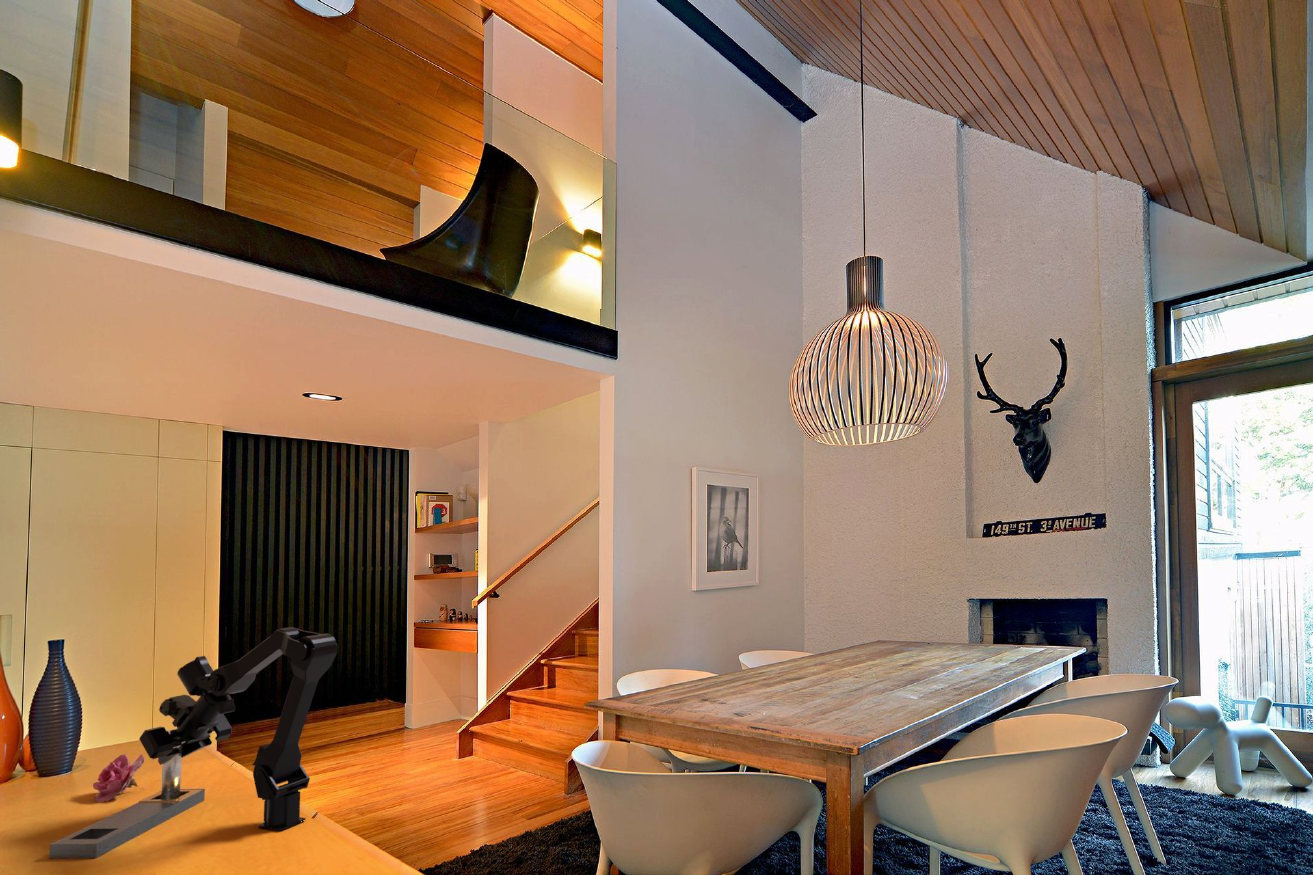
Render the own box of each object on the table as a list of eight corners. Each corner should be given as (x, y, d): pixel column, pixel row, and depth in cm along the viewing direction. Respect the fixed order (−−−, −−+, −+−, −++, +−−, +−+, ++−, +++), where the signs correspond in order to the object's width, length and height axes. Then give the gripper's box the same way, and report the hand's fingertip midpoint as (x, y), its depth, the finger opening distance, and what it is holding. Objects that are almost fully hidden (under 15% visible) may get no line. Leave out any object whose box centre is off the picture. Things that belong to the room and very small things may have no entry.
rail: (96, 857, 147) (97, 842, 148) (49, 858, 148) (50, 842, 148) (204, 800, 180) (204, 787, 180) (165, 800, 180) (166, 788, 181)
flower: (98, 819, 179) (73, 782, 179) (117, 809, 188) (93, 774, 189) (147, 784, 182) (122, 748, 183) (163, 775, 192) (139, 741, 192)
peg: (179, 797, 174) (182, 731, 176) (160, 800, 173) (163, 733, 175) (180, 793, 178) (183, 728, 179) (161, 796, 176) (164, 730, 178)
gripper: (225, 676, 185) (189, 723, 188) (147, 691, 168) (109, 742, 171) (248, 713, 181) (212, 760, 184) (171, 732, 164) (132, 783, 167)
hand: (168, 760), depth 177 cm, fingers closed on peg, 4 cm apart
